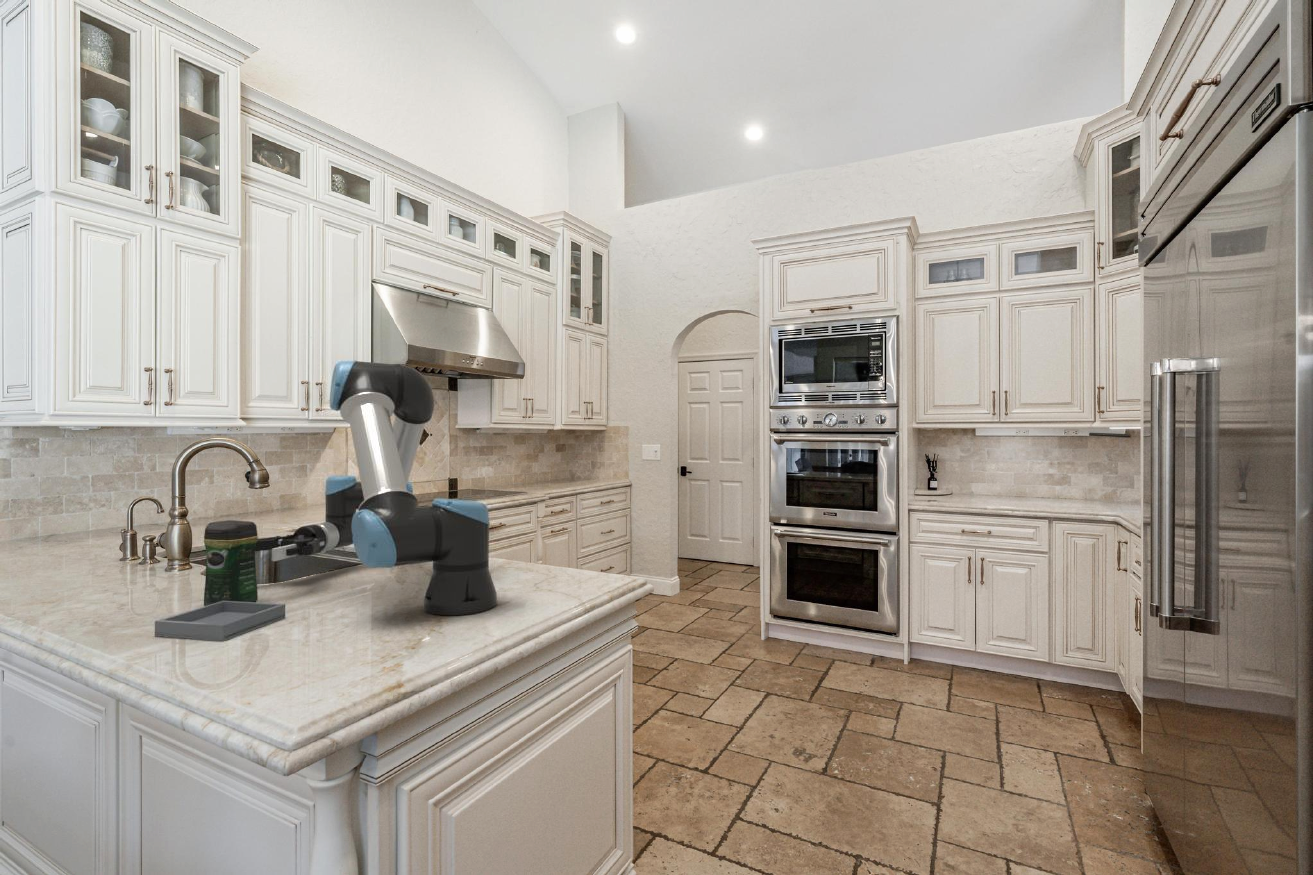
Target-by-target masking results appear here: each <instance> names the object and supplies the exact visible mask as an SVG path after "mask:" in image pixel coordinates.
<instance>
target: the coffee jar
mask: <svg viewBox="0 0 1313 875" xmlns="http://www.w3.org/2000/svg"><path fill="white" fill-rule="evenodd" d="M257 529H258V528H257V524H256V523H255V522H253V521H249V520H248V521H246V520H244V521H243V520H235V519H234V520H233V519H232V520H231V519H230V520H221V521H220V520H219V521H214V522H208V524H207V525H206V526H205V529H204V533H203V534H204V536H203V544H204V546H205V554H206V555H205V556H206V562H205V563H206V564H205V565H206V566H205V580H204V594H203V607H204V606H207V605H210V604H214V603H217V602H220V601H239V602H256V603H258V597H259V595H258V594H259V593H258V583H257V582H258V581H257V570H256V567H257V566H256V552H255V546H256V542H257V539H259V538H258V537H259V536H258V534H259V533H258V530H257Z"/></svg>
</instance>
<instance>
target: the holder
mask: <svg viewBox="0 0 1313 875" xmlns="http://www.w3.org/2000/svg"><path fill="white" fill-rule="evenodd" d="M283 619H286V604H285V603H275V602H274V603H272V602H271V603H270V602H239V601H220V602H217V603H214V604H210V605H207V606H204V605H203V606H200V607H198V608H194V609H192V610H188V611H184V612H182V613H181V612H180V613H178V614H174V615H171V616H168V617H164V618H161V619H158V620H155V621H154V637H156V636H164V637H163V638H170V637H171V638H172V639H173V638H174V639H184V638H186V639H187V640H201V641H216V642H225V641H228V640H230V639H233V638H235V637H238V636H241V635H244V634H246V633H249V632H252V631H255V630H258V629H260V628H262V627H266V626H267V625H270V624H274V623H276V622H279V621H281V620H283ZM165 636H166V637H165Z"/></svg>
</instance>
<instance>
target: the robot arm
mask: <svg viewBox="0 0 1313 875" xmlns="http://www.w3.org/2000/svg"><path fill="white" fill-rule="evenodd" d="M331 376H332V377H331V382H330V383H331V384H330V391H329V392H330V393H329V407H330V409H331V410H332V411H336V412H338V411H339V413H340V416H341V418H342V419H343V421H345V422H346V423H348V424H349V425H350V431H351V437H352V441H353V442H352V443H353V447H354V452H355V453H354V454H355V458H356V463H357V468H358V475H359V478H360V479H359V480H360V481H357V477H356V476H355V475H331V476H328V477H327V478H326V481H325V490H324V491H325V492H324V495H325V521H323V522H319V523H318V522H317V523H313V524H309V525H303V526H300V527H298V528H297V529H296V530H295V531H294V532H293V534H287V535H285V536H284V535H283V536H280V535H276V536H271V537H263V538H258V539H257V542H256V546H255V553H256V552H264V551H265V552H266V551H271V562H277V561H281V560H284V559H288V558H289V559H290V558H294V557H297V556H300V557H301V556H305V557H308V556H312V555H316V554H319V553H320V554H322V555H323V554H325V553H326V551H330V550H335V549H339V548H343V547H349V546H351V545H353V548H354V550H355V554H356V555H357V556H356V557H357V558H358V560H359V561H360V563H361V564H362V565H364V566H366V567H367V568H370V569H376V568H392V567H397V566H407V565H415V564H422V563H430V562H432V573H431V577H430V580H429V582H428V586H427V589H426V590H425V591H426V592H425V594H424V595H425V596H424V598H423V610H424V611H425V612H426V613H428V614H432V615H438V616H461V615H472V614H477V613H481V612H485V611H488V610H491V609H493V608H495V607H496V605H498V604H497V603H498V602H497V601H498V599H497V598H498V594H497V590H496V587H495V584H494V582H493V578H492V574H491V571H490V569H489V567H490V566H489V562H490V560H489V557H490V556H489V555H490V525H491V524H490V520H489V519H490V518H489V517H490V515H489V514H490V513H489V508H488V506H487V505H486V504H485V503H482V502H480V501H474V500H473V501H472V500H464V499H457V498H456V499H455V498H454V499H453V498H452V499H451V498H434V499H433V501H432V502H431V503H432V504H431V506H429V505H428V506H427V505H426V506H419V505H420V504H419V501H418V497H417V496H416V495H415V494H414V491H413V490H414V489H413V488H414V487H413V485H412V483H411V481H410V480H409V478H410V476H411V473H412V472H411V471H412V469H413V465H414V463H415V462H414V461H415V458H416V455H417V453H418V448H419V446H420V442H421V439H422V435H423V433H424V429H425V425H426V424H428V423H429V422H430V421H431V419H432V416H433V415H434V414H433V413H434V410H435V396H434V393H433V389H432V387H431V384H430V383H429V382H428V380H427V378H426V377H425V376H424V375H423V374H422V373H421V372H420V371H418V370H417V369H416V368H415V367H411V366H409V365H406V364H400V363H398V364H396V363H395V364H394V363H385V362H384V363H383V362H371V361H370V362H369V361H357V360H342V361H339V362H337V363H335V365H334V367H333V371H332V375H331ZM393 415H394V419H393V423H392V421H391V420H392V419H391V417H392V416H393Z"/></svg>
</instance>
